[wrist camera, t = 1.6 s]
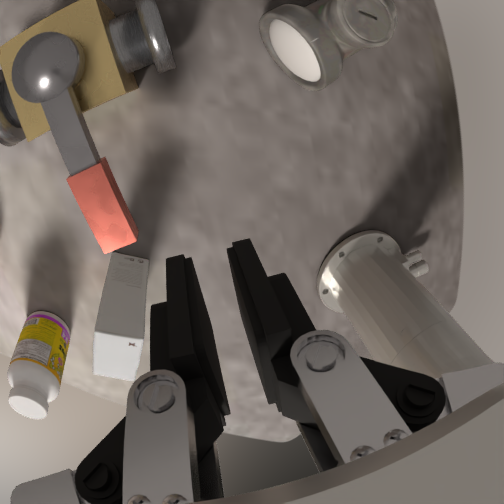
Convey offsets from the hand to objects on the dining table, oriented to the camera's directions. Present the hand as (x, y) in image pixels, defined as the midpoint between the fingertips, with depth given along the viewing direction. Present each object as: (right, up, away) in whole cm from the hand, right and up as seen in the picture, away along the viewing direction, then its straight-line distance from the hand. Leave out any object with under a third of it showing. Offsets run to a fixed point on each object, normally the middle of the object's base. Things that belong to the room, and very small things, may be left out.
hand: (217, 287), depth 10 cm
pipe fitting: (+8, +23, +15) cm, 28 cm away
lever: (-10, +9, +8) cm, 16 cm away
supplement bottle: (-25, -9, +25) cm, 37 cm away
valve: (-14, +17, +12) cm, 25 cm away
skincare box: (-13, -2, +24) cm, 28 cm away
